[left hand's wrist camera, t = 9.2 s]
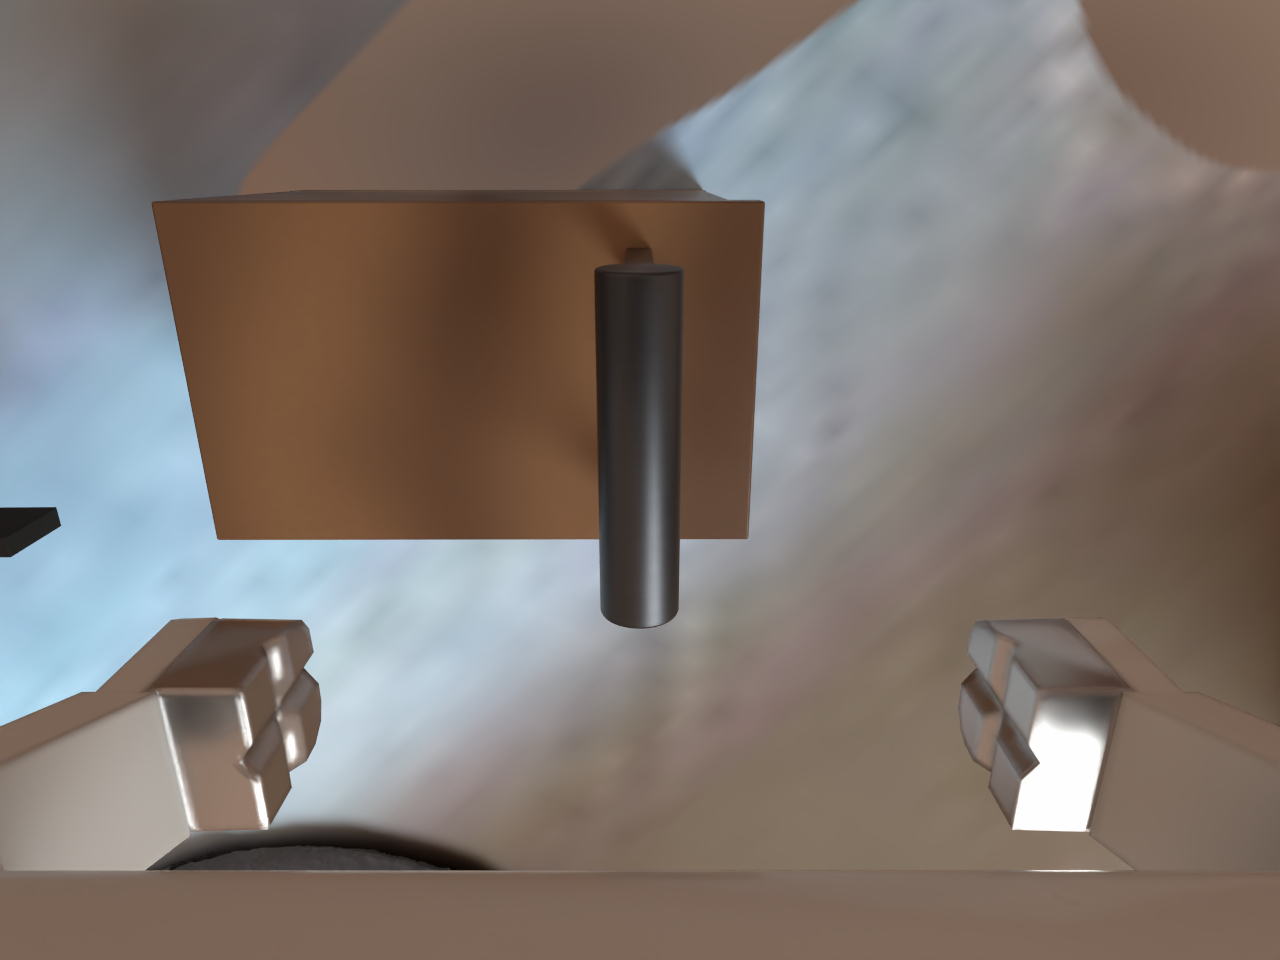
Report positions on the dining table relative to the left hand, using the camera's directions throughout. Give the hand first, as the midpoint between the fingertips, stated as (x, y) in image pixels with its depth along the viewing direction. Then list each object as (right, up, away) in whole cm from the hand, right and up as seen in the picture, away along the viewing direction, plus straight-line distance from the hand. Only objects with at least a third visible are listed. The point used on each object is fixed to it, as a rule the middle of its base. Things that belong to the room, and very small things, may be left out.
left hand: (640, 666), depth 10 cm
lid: (-5, +5, +15) cm, 16 cm away
